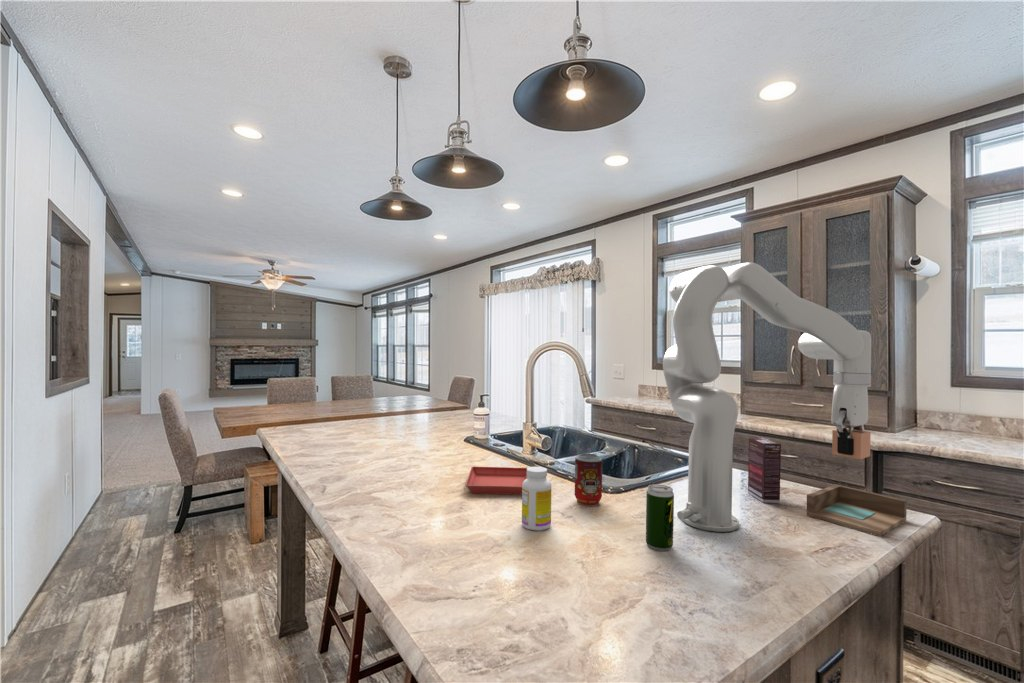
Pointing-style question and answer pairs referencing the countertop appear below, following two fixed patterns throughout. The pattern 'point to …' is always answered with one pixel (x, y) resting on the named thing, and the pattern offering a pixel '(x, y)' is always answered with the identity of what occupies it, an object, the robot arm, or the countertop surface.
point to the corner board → (857, 509)
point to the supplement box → (764, 469)
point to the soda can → (588, 479)
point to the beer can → (659, 517)
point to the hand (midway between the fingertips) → (850, 451)
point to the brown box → (859, 444)
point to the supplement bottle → (536, 499)
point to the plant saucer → (496, 480)
